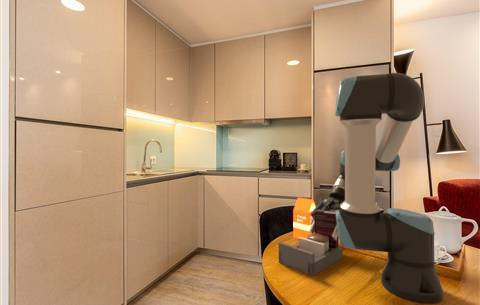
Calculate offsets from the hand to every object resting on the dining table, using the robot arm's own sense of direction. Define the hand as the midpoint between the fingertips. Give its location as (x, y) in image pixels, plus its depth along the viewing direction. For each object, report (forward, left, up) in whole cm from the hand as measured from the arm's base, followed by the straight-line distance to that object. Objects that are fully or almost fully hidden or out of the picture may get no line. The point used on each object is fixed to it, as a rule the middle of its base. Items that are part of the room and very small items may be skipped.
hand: (322, 235), depth 98 cm
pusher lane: (0, +8, -9) cm, 12 cm away
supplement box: (0, -3, -7) cm, 8 cm away
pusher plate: (0, +8, -7) cm, 11 cm away
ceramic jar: (0, +3, -8) cm, 8 cm away
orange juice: (+16, -12, -9) cm, 22 cm away
